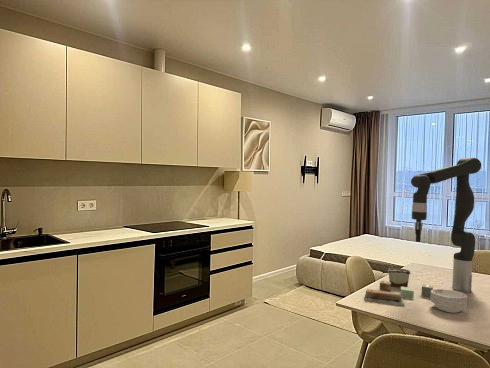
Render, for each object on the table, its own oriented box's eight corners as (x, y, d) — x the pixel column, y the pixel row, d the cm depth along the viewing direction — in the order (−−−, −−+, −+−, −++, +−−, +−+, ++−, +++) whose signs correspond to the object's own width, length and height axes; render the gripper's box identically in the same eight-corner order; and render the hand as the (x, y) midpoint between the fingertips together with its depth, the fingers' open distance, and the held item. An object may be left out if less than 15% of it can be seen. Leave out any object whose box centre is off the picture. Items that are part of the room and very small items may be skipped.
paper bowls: (433, 301, 180) (434, 286, 180) (468, 309, 171) (469, 293, 171) (426, 309, 169) (427, 292, 168) (463, 318, 159) (464, 300, 159)
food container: (406, 285, 208) (406, 268, 208) (409, 288, 202) (410, 271, 201) (384, 284, 209) (385, 267, 209) (387, 287, 203) (388, 269, 203)
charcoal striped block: (432, 295, 191) (433, 285, 191) (432, 297, 187) (432, 288, 187) (422, 293, 194) (422, 284, 194) (421, 295, 189) (421, 286, 189)
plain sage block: (412, 295, 189) (413, 288, 189) (413, 299, 184) (413, 291, 184) (400, 293, 192) (400, 286, 192) (400, 297, 186) (401, 289, 186)
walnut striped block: (390, 291, 195) (391, 282, 195) (389, 293, 191) (389, 284, 191) (381, 289, 198) (381, 280, 198) (379, 291, 194) (379, 282, 193)
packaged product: (365, 292, 177) (365, 286, 187) (365, 301, 177) (365, 296, 187) (405, 297, 172) (402, 291, 181) (404, 307, 172) (402, 300, 181)
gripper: (426, 212, 191) (424, 244, 191) (427, 210, 203) (426, 241, 203) (410, 211, 195) (409, 242, 195) (413, 209, 206) (411, 239, 207)
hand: (418, 241), depth 199 cm, fingers closed
